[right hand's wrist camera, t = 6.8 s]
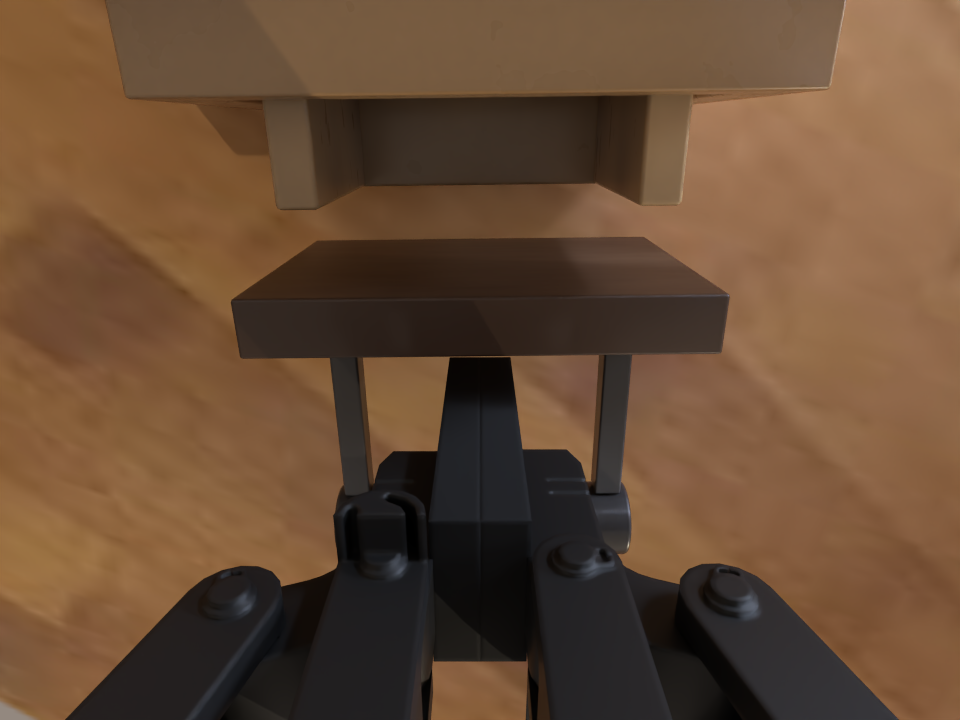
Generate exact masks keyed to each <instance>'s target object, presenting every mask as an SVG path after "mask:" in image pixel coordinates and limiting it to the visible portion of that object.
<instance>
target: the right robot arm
mask: <svg viewBox="0 0 960 720" xmlns="http://www.w3.org/2000/svg"><path fill="white" fill-rule="evenodd" d="M333 518H334V527H335V537H336V546H337V555H338V565H337V568H336V569H334V570H333V571H331V572H329V573H327V574H325V575H323V576H320V577H317V578H314V579H311V580H308V581H303V582H299V583H295V584H291V585H286V586H282V587H281V584H280V580H279V579H278V578H277V577H276V576H275V575H274V573H273V572H272V571H269V570H266V569H264V568H261V567H258V566H239V567H234V568H230V569H225V570H222V571H219V572H217V573H215V574H213V575H211V576H209V577H207V578H204V579H203V580H202V581H200V582H199V583H198V584H197V585H195V586H194V587H193V588H192V589H190V590H189V591H188V592H187V593H186V594H185V595H184V596H183V597H182V598H181V599H180V600H179V602H178V603H177V604H176V605H175V606H174V607H173V608H172V609H171V610H170V611H169V612H168V613H167V614H166V615H165V616H164V617H163V618H162V619H161V620H160V621H159V622H158V623H157V624H156V626H155V627H154V628H153V629H152V630H151V631H150V632H149V633H148V634H147V635H146V636H145V637H144V638H143V639H142V640H141V641H140V642H139V643H138V644H137V645H136V646H135V647H134V648H133V650H132V651H131V652H130V653H129V654H128V655H127V656H126V657H125V658H124V659H123V660H122V661H121V662H120V663H119V664H118V665H117V666H116V667H115V668H114V669H113V670H112V671H111V672H110V674H109V675H108V676H107V677H106V678H105V679H104V680H103V681H102V682H101V683H100V684H99V685H98V686H97V687H96V688H95V689H94V690H93V691H92V692H91V693H90V694H89V695H88V696H87V698H86V699H85V700H84V701H83V702H82V703H81V704H80V705H79V706H78V707H77V708H76V709H75V710H74V711H73V712H72V713H71V714H70V715H69V716H68V717H67V718H66V719H65V720H431V711H432V698H433V679H432V663H433V657H434V661H526V659H528V679H527V704H526V720H898V719H897V717H896V716H895V715H894V714H893V713H892V712H891V711H890V710H889V709H888V708H887V707H886V706H885V705H884V704H883V703H882V702H881V701H880V700H879V699H878V698H877V697H876V696H875V695H874V694H873V693H872V692H871V691H870V689H869V688H868V687H867V686H866V685H865V684H864V683H863V682H862V681H861V680H860V679H859V678H858V677H857V676H856V675H855V674H854V673H853V672H852V671H851V670H850V669H849V668H848V667H847V666H846V665H845V664H844V663H843V662H842V660H841V659H840V658H839V657H838V656H837V655H836V654H835V653H834V652H833V651H832V650H831V649H830V648H829V647H828V646H827V645H826V644H825V643H824V642H823V641H822V640H821V639H820V638H819V637H818V636H817V635H816V634H815V632H814V631H813V630H812V629H811V628H810V627H809V626H808V625H807V624H806V623H805V622H804V621H803V620H802V619H801V618H800V617H799V616H798V615H797V614H796V613H795V612H794V611H793V610H792V609H791V608H790V607H789V606H788V604H787V603H786V602H785V601H784V600H783V599H782V598H781V597H780V596H779V595H778V594H777V593H776V592H775V591H774V590H773V589H772V588H771V587H770V586H768V585H767V584H766V583H765V582H763V581H762V580H761V579H759V578H758V577H757V576H755V575H753V574H751V573H749V572H746V571H744V570H742V569H740V568H737V567H733V566H728V565H724V564H701V565H698V566H696V567H693V568H690V569H688V570H687V571H686V573H685V574H684V575H683V576H682V577H681V578H680V585H679V584H675V583H671V582H667V581H662V580H658V579H654V578H650V577H647V576H644V575H641V574H638V573H636V572H634V571H632V570H630V569H628V568H626V567H625V566H624V565H623V564H622V561H621V559H620V558H619V556H618V555H617V553H616V551H615V550H614V549H613V548H611V547H610V546H609V545H607V544H606V543H605V542H604V539H603V536H602V532H601V529H600V526H599V522H598V519H597V516H596V512H595V509H594V505H593V502H592V499H591V495H589V489H588V485H587V482H586V481H585V475H584V472H583V469H582V465H581V463H580V462H579V461H578V460H577V459H576V458H575V457H574V456H573V455H572V454H571V453H570V452H569V451H568V450H522V443H521V435H520V427H519V420H518V412H517V404H516V397H515V389H514V381H513V374H512V366H511V358H510V357H450V359H449V367H448V375H447V382H446V390H445V398H444V405H443V413H442V421H441V428H440V436H439V443H438V451H393V452H392V453H391V454H390V455H389V456H388V457H387V458H386V459H385V460H384V461H383V462H382V463H381V464H380V465H379V468H378V471H377V475H376V478H375V484H374V485H373V488H372V491H368V492H365V493H362V494H359V495H356V496H353V497H352V498H350V499H349V500H347V501H346V502H344V503H343V504H341V505H340V506H339V508H338V509H337V511H336V512H335V514H334V515H333Z"/></svg>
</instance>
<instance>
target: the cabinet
mask: <svg viewBox="0 0 960 720" xmlns="http://www.w3.org/2000/svg"><path fill="white" fill-rule="evenodd" d="M105 2H106V7H107V11H108V16H109V21H110V26H111V31H112V35H113V40H114V45H115V50H116V54H117V59H118V64H119V69H120V74H121V78H122V83H123V88H124V93H125V96H126V97H127V98H129V99H136V100H148V101H161V102H174V103H186V104H198V105H211V106H223V107H235V108H248V109H260V110H263V103H262V100H320V99H397V98H473V97H549V96H625V95H693V101H692V104H700V103H710V102H719V101H728V100H737V99H746V98H755V97H765V96H774V95H783V94H791V93H802V92H811V91H820V90H827V89H829V88H830V86H831V82H832V76H833V71H834V65H835V60H836V54H837V49H838V44H839V38H840V33H841V27H842V22H843V16H844V11H845V6H846V0H105Z"/></svg>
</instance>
